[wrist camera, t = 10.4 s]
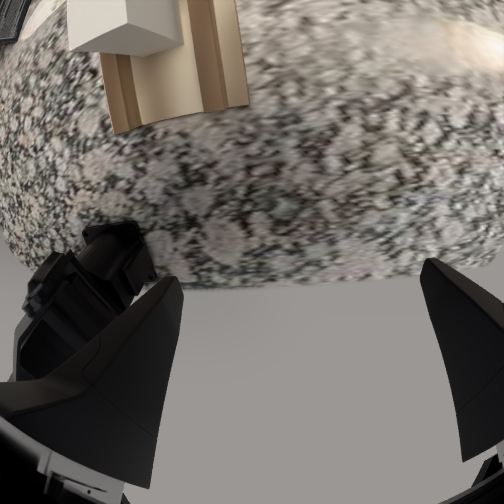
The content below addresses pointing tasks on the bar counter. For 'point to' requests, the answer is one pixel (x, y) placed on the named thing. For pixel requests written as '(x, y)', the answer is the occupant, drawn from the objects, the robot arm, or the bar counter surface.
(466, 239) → the bar counter surface
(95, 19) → the door panel
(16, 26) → the small box
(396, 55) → the bar counter surface
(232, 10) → the floor track
